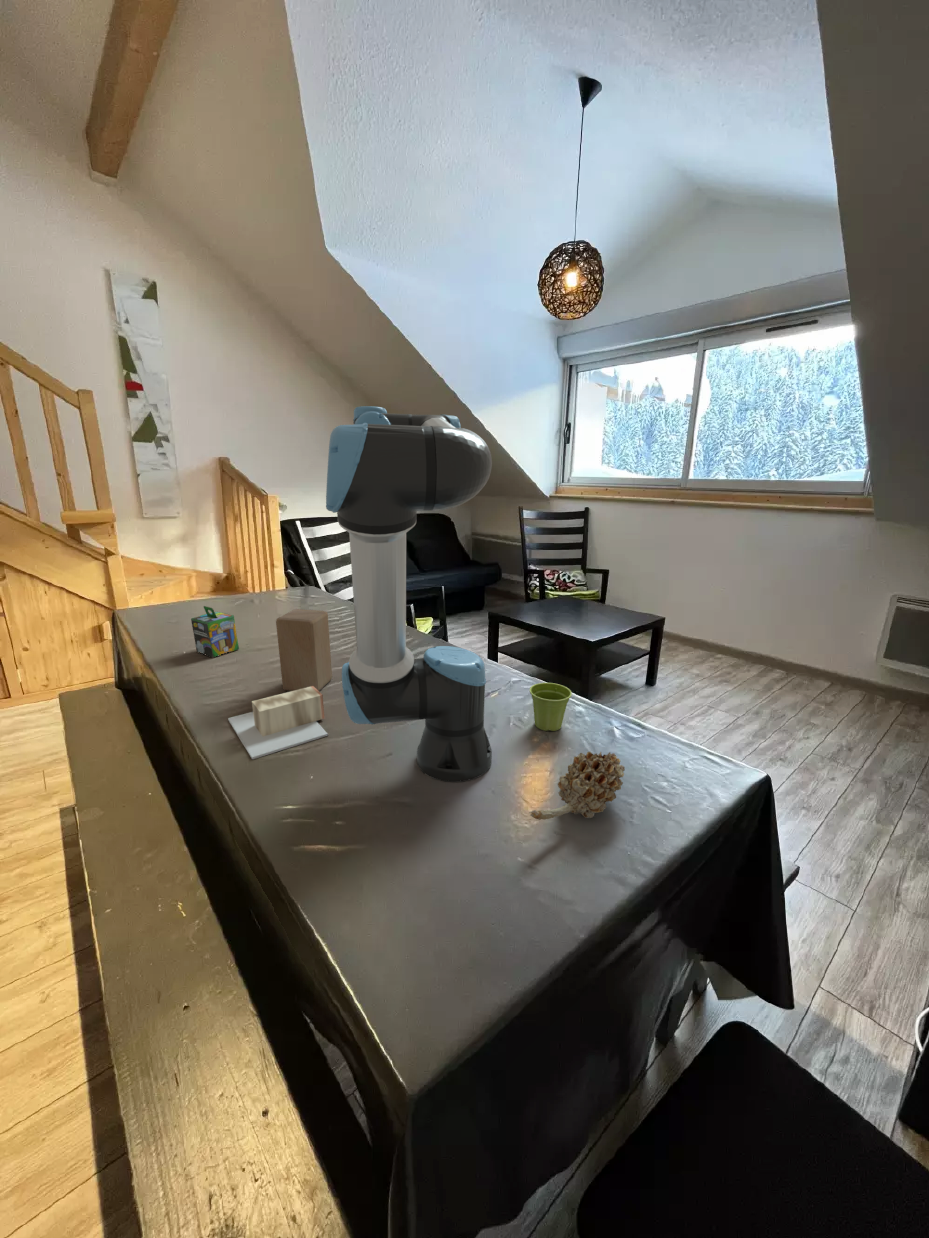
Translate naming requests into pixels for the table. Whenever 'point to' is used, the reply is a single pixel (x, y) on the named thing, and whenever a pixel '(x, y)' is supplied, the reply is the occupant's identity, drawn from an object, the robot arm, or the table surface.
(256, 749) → the mat
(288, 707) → the birch block
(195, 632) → the chalk box
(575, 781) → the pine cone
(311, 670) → the block
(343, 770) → the table surface
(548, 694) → the plant pot
